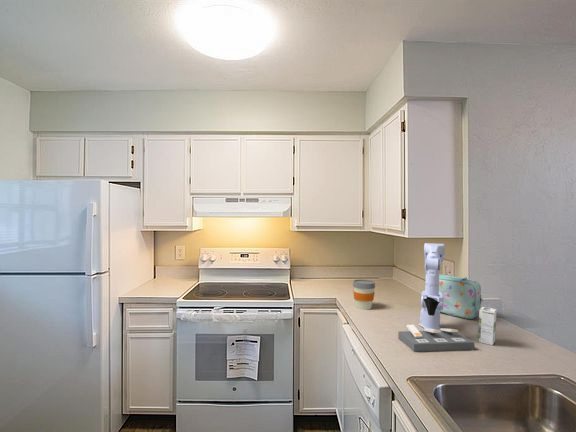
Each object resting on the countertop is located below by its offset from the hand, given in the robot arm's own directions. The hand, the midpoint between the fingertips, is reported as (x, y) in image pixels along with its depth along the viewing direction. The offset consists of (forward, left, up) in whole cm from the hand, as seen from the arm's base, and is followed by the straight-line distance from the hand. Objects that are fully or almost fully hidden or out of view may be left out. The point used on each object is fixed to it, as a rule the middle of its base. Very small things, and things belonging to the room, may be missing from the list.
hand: (431, 315), depth 151 cm
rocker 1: (+6, -11, -5) cm, 13 cm away
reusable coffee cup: (-45, -15, -10) cm, 49 cm away
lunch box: (-30, +31, -10) cm, 44 cm away
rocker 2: (+6, +5, -5) cm, 9 cm away
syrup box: (+8, +21, -10) cm, 25 cm away
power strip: (+8, -3, -10) cm, 13 cm away
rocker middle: (+6, -3, -5) cm, 8 cm away
